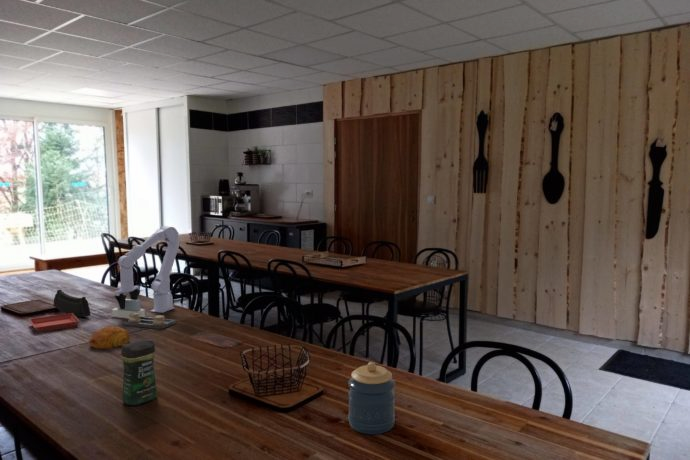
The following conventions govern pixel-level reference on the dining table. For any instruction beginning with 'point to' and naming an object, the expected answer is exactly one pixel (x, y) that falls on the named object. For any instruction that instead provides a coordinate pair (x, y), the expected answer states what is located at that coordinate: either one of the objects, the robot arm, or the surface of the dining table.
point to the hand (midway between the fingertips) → (128, 306)
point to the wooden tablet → (216, 340)
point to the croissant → (109, 337)
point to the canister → (371, 399)
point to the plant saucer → (54, 322)
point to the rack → (149, 323)
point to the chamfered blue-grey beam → (130, 305)
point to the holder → (126, 313)
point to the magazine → (71, 304)
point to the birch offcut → (158, 319)
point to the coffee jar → (138, 372)
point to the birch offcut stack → (134, 317)
